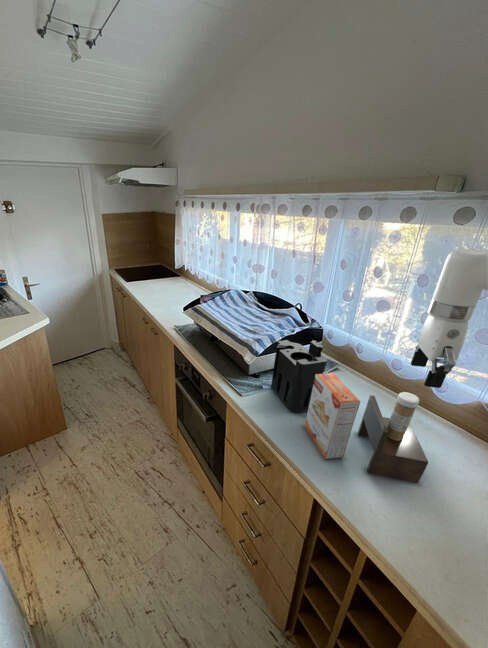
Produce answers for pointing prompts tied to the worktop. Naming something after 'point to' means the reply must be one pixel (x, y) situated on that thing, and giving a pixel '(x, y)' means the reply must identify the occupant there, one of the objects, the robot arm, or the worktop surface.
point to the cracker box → (331, 415)
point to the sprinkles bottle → (402, 415)
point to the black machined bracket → (296, 373)
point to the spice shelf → (391, 448)
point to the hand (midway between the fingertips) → (424, 375)
